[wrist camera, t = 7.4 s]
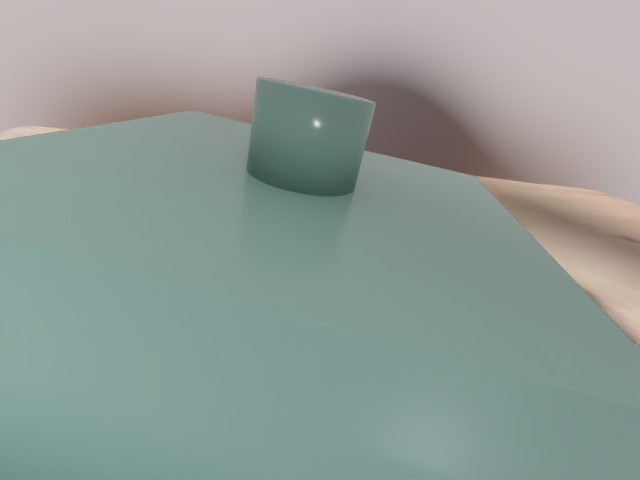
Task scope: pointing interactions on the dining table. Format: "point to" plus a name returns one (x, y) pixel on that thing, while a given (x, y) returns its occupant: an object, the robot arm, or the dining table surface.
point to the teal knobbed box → (289, 312)
